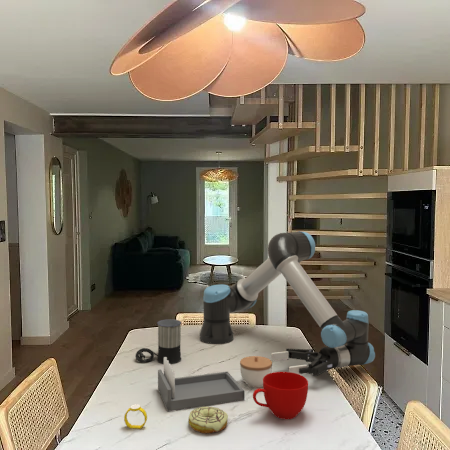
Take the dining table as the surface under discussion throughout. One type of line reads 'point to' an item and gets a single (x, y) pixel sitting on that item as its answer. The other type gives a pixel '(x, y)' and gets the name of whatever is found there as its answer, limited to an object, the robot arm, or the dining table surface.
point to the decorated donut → (208, 419)
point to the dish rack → (197, 389)
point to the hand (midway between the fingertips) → (280, 363)
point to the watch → (135, 408)
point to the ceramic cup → (284, 394)
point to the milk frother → (165, 343)
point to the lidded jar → (255, 370)
